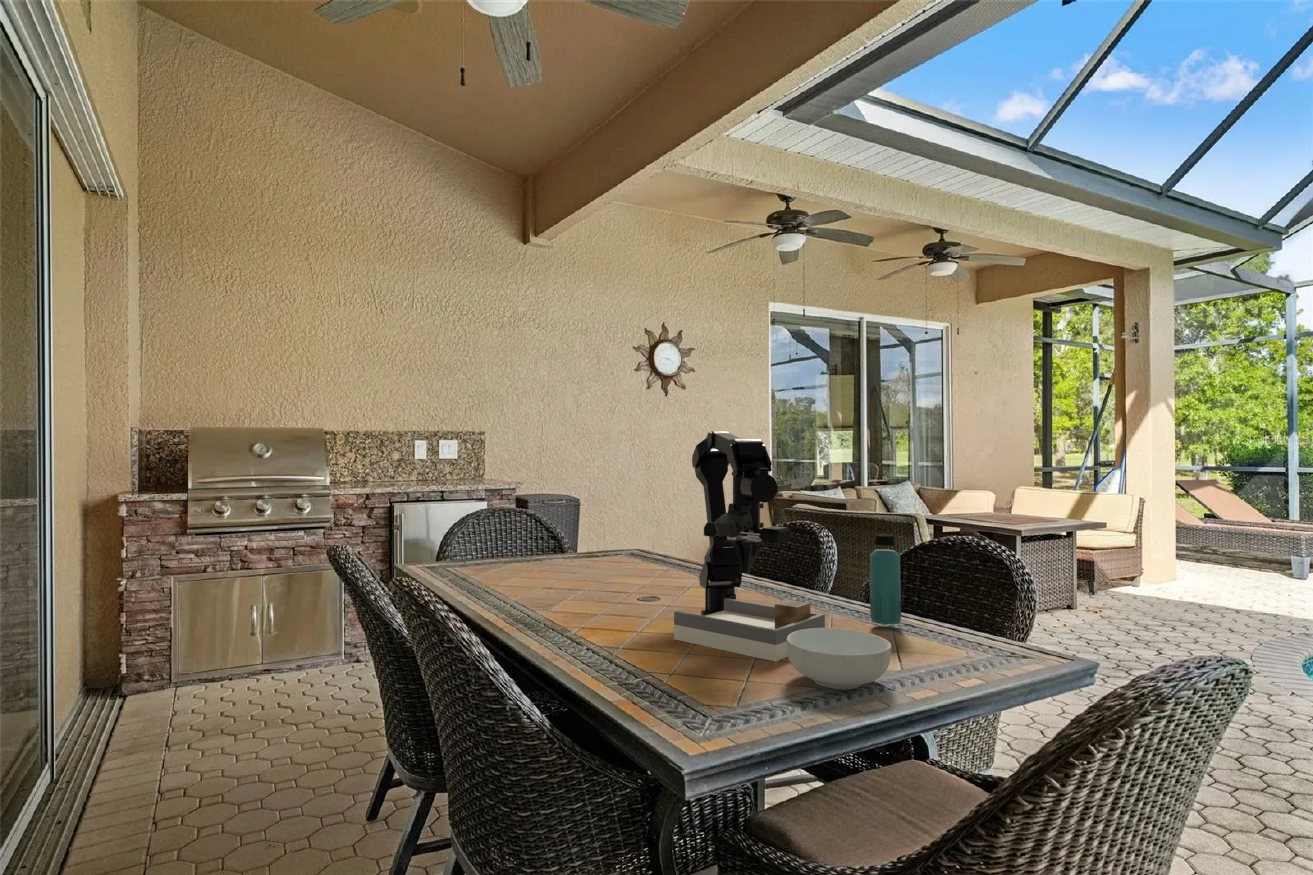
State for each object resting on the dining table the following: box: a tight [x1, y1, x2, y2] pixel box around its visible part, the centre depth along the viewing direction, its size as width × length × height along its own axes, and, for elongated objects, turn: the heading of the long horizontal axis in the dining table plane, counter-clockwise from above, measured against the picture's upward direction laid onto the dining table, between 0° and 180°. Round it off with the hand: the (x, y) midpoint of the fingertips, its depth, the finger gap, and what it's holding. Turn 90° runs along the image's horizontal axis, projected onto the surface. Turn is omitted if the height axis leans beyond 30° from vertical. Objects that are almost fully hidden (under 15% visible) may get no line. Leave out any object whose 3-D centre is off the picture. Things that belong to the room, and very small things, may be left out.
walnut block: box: [774, 599, 811, 629], centre depth 151 cm, size 5×5×5 cm
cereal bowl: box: [786, 627, 892, 690], centre depth 127 cm, size 17×17×7 cm
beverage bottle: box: [869, 533, 903, 625], centre depth 164 cm, size 6×7×20 cm
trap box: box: [673, 598, 826, 662], centre depth 153 cm, size 24×18×6 cm
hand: (746, 573), depth 161 cm, fingers closed
